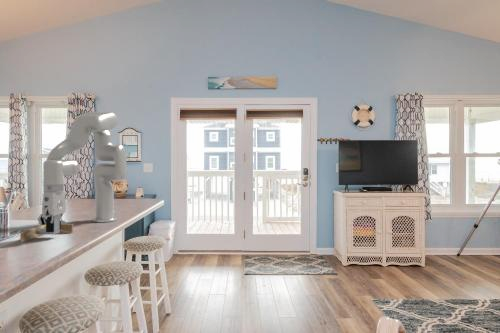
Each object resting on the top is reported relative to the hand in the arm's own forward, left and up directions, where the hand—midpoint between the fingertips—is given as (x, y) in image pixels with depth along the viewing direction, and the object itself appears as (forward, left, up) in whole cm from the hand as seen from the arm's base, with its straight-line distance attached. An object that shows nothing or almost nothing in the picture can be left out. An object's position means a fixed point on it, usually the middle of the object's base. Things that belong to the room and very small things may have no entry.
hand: (53, 230), depth 144 cm
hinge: (-19, -13, -4) cm, 24 cm away
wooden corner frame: (-2, -4, -3) cm, 5 cm away
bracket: (0, -2, -1) cm, 3 cm away
